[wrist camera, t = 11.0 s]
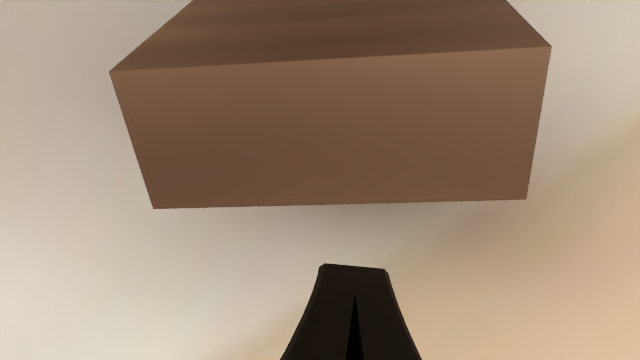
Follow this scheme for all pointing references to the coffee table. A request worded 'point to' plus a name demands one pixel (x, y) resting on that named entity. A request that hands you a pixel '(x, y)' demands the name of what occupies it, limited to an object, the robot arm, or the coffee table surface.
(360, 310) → the robot arm
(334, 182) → the pushed domino
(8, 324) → the coffee table surface
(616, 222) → the coffee table surface
